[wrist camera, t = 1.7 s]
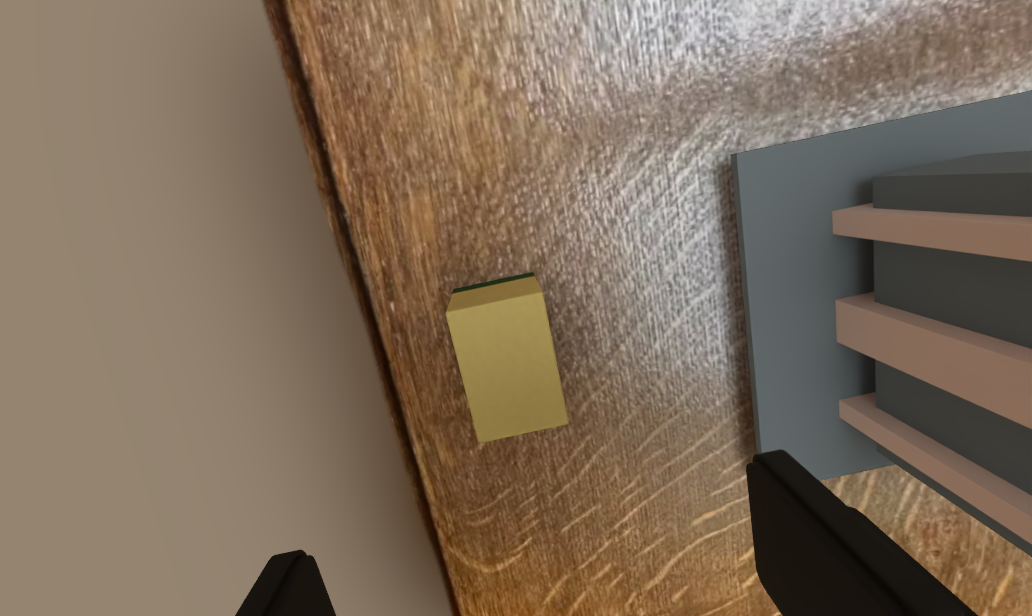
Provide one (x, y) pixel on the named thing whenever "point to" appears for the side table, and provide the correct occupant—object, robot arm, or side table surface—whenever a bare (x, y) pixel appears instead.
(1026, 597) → the side table surface
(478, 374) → the sponge
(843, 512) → the robot arm
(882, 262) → the desk lamp
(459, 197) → the side table surface
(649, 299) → the side table surface
